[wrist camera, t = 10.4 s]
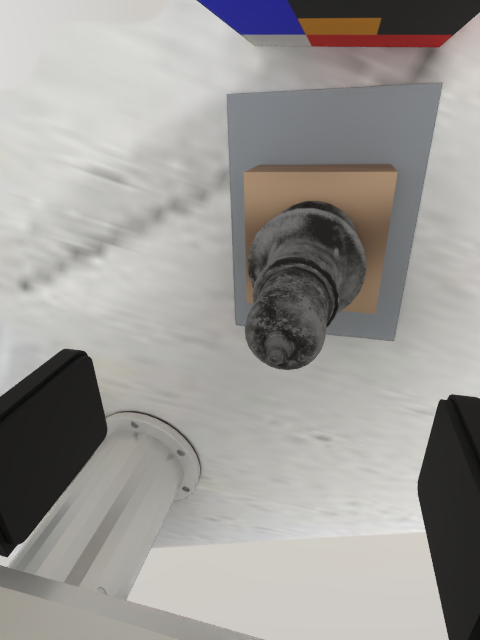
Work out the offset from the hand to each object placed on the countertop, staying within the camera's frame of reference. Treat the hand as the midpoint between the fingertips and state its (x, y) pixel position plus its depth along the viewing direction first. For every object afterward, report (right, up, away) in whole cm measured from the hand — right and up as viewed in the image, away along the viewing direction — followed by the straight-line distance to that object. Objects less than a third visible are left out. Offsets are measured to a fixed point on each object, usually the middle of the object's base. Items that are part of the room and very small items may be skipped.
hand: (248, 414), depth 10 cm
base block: (+5, +9, +15) cm, 18 cm away
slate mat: (+5, +9, +15) cm, 19 cm away
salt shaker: (+4, +7, +12) cm, 14 cm away
